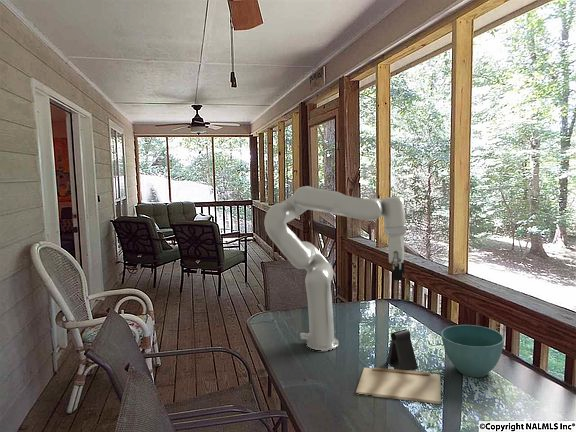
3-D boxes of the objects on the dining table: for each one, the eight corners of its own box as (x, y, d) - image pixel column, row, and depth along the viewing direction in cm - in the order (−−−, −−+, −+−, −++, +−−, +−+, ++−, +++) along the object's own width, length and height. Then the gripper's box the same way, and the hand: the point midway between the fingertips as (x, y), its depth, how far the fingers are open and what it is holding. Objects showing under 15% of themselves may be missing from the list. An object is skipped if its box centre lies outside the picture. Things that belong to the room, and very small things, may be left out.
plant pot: (478, 391, 120) (477, 351, 119) (430, 368, 136) (429, 332, 135) (517, 374, 128) (516, 337, 127) (467, 354, 144) (466, 320, 143)
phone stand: (418, 368, 136) (416, 333, 135) (403, 372, 134) (402, 337, 133) (400, 358, 145) (399, 325, 143) (386, 362, 142) (385, 328, 141)
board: (356, 394, 123) (355, 390, 123) (364, 369, 138) (364, 366, 138) (441, 404, 115) (440, 400, 114) (439, 377, 130) (439, 373, 129)
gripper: (387, 228, 158) (391, 271, 160) (382, 235, 142) (386, 283, 143) (407, 227, 156) (411, 271, 157) (404, 233, 139) (408, 282, 141)
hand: (399, 276), depth 150 cm, fingers open, 9 cm apart
